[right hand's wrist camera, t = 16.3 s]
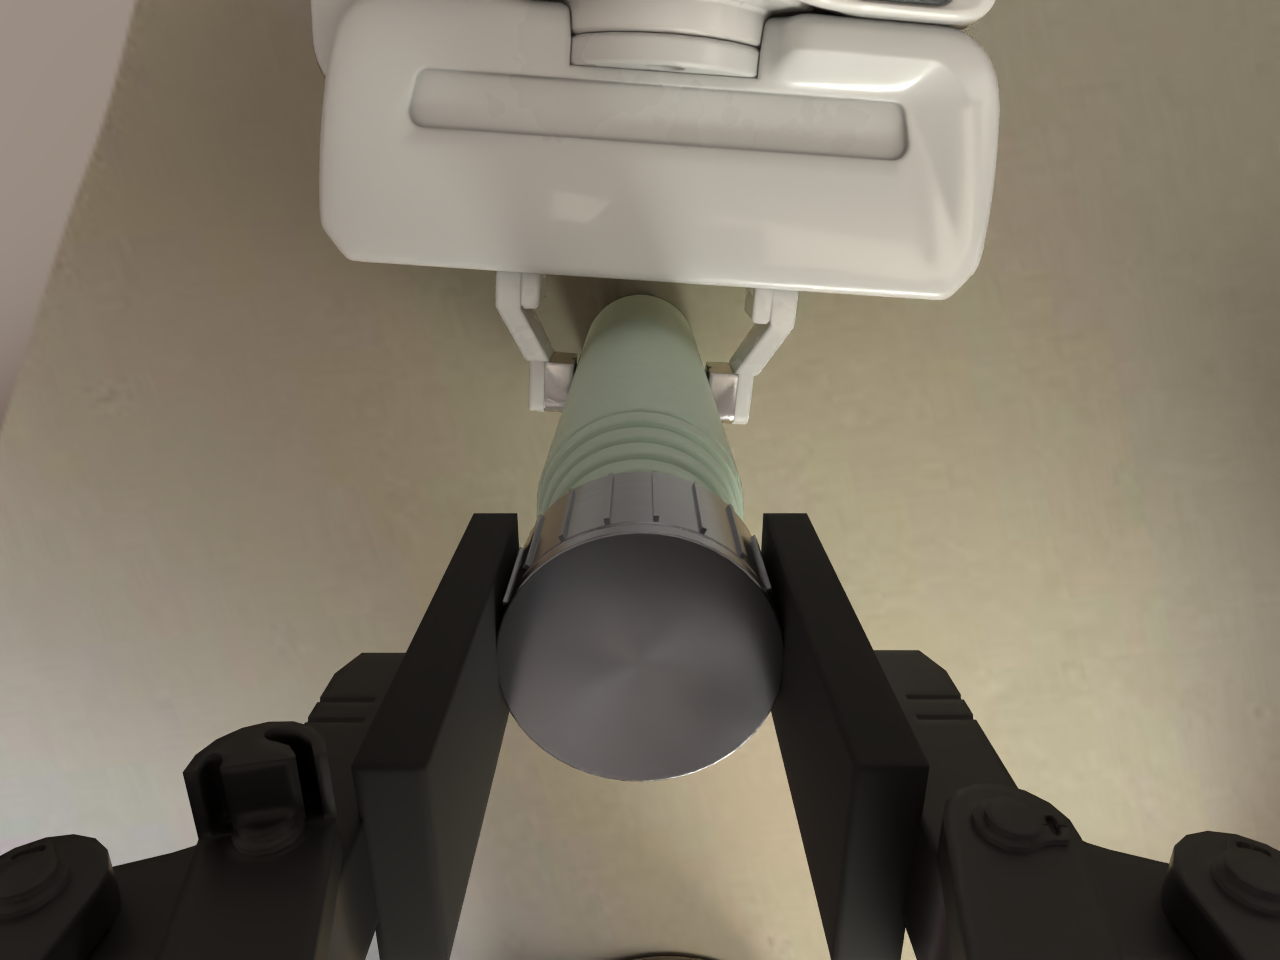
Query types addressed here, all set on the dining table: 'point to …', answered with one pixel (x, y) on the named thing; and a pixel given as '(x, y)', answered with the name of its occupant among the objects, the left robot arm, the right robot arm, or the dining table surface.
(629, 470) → the bottle
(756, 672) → the cap
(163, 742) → the dining table surface
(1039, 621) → the dining table surface
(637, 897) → the dining table surface
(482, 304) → the dining table surface
